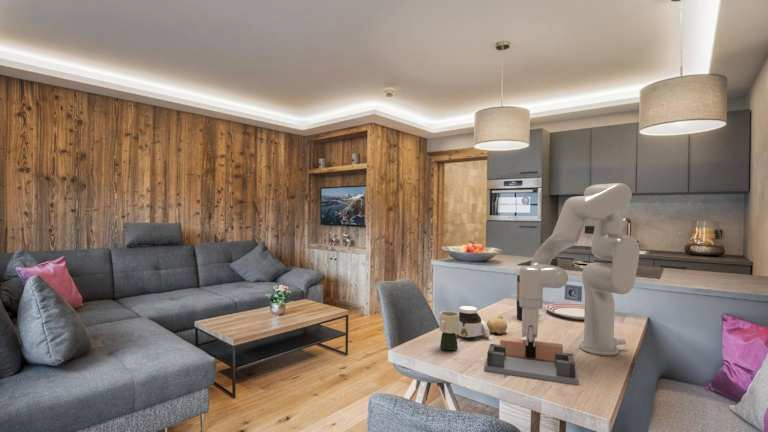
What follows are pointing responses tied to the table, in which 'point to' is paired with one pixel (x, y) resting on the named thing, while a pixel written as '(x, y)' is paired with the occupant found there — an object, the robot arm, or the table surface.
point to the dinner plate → (568, 310)
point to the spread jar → (471, 324)
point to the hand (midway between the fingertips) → (530, 354)
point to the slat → (542, 348)
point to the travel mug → (519, 309)
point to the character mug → (449, 329)
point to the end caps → (562, 360)
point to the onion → (497, 325)
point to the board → (531, 370)
